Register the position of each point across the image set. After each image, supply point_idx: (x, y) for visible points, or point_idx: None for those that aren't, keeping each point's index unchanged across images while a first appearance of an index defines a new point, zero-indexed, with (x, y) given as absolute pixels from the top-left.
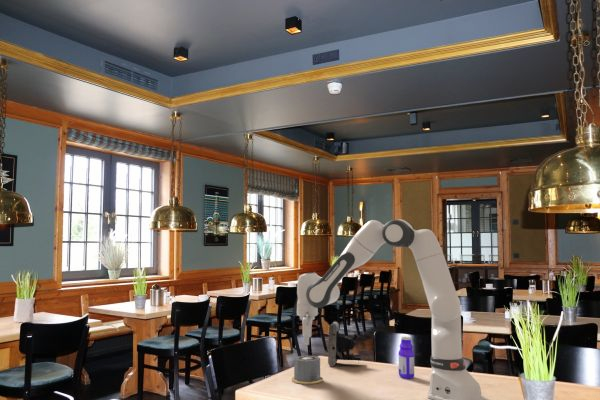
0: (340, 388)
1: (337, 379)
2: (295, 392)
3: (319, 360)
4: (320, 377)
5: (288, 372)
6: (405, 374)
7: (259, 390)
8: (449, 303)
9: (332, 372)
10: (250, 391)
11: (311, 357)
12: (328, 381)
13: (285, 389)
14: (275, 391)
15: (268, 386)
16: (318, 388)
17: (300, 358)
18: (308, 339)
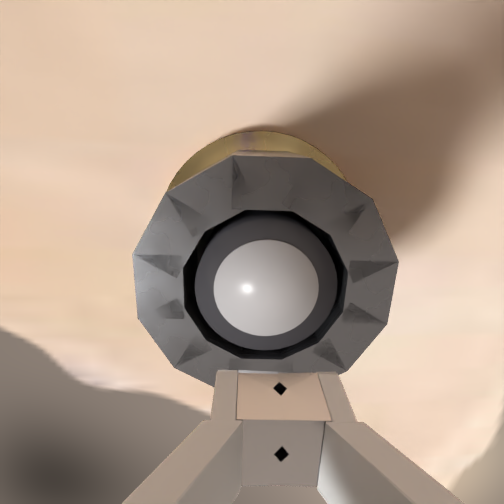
0: (479, 11)
1: (231, 9)
2: (501, 299)
3: (321, 165)
4: (235, 146)
5: (74, 335)
6: None
7: (429, 445)
8: None
9: (16, 33)
10: (438, 474)
11: (210, 247)
12: (287, 90)
13: (434, 345)
14: (460, 386)
15: (368, 416)
16: (449, 171)
17: (257, 347)
18: (389, 458)
